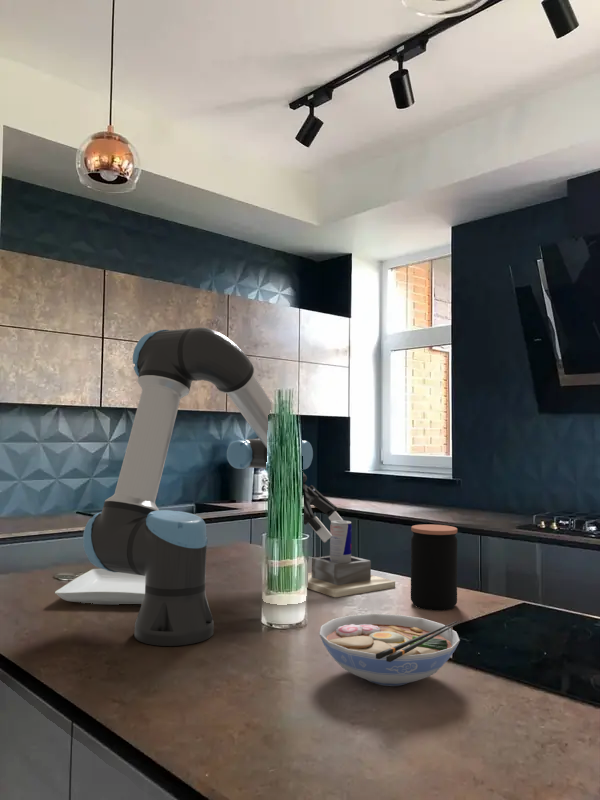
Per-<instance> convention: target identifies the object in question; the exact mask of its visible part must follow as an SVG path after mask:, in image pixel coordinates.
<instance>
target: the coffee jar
mask: <svg viewBox="0 0 600 800" xmlns="http://www.w3.org/2000/svg"><path fill="white" fill-rule="evenodd" d="M411 532H412V536H411V537H410V601H411V602H412V605H413V606H414V607H416V608H419V609H423V610H428V611H439V612H440V611H449V610H452V609H454V608H455V606H456V605H457V603H458V537H456V535H457V534H458V528H457V527H455V526H450V525H446V524H445V525H444V524H430V523H429V524H427V523H426V524H415V525H412V526H411Z"/></svg>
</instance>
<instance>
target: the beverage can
mask: <svg viewBox="0 0 600 800" xmlns="http://www.w3.org/2000/svg"><path fill="white" fill-rule="evenodd" d="M343 520H344V519H343ZM343 520H335V521H330V528H329V529H330V531H329V532H330V533H331V534H332V537H331V538H330V539H329V540H330V541H329V556H330V561H331V562H335V563H347V562H351V556H352V536H353V535H352V530H353V529H352V521H350V520H344V521H343Z"/></svg>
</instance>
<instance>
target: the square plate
mask: <svg viewBox="0 0 600 800" xmlns="http://www.w3.org/2000/svg"><path fill="white" fill-rule="evenodd" d="M54 594H55V595H57V596H58V597H59V598H61V599H62V600H64V601H67V602H74V603H80V602H81V603H80V604H85V603H91V604H90V605H119V604H142V602H143V599H144V596H145V576H142V575H135V574H129V573H122V572H111V571H107V570H105V569H101V568H92V569H89V571H87V572H85V573H83V574H81V575H79V576H77V577H76V578H74V579H72V580H70V581H69V582H67V583H66V584H65V585H63V586H62V587H60V588H58V589H57V590H55V592H54ZM92 603H93V604H92Z"/></svg>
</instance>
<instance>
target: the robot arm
mask: <svg viewBox="0 0 600 800" xmlns="http://www.w3.org/2000/svg"><path fill="white" fill-rule="evenodd" d="M132 364H133V365H134V366H133V371H134V373H135V375H136V376H137V383H138V385H139V386H140V387H141V394H140V396H139V401H138V405H137V409H136V411H135V415H134V418H133V419H134V420H133V423H132V425H131V426H132V427H131V430H130V435H129V439H128V442H127V446H126V449H125V454H124V457H123V461H122V464H121V469H120V471H119V475H118V479H117V484H116V487H115V491H114V494H113V495H111V496H110V497H108V498H107V499H105V500H104V503H103V507H102V511H100V512H98V513H96V514H95V513H94V515H93V516H92V517H91V518H89V519H88V520H87V522H86V525H85V527H84V530H83V534H82V536H83V537H82V545H83V549H84V553H85V555H86V556H87V559H88V561H89V562H90V563H91V564H92V565H93V566H94V567H96V568H97V569H105V570H107V571H111V572H122V573H129V574H135V575H142V576H145V596H144V599H143V602H142V605H140V609H139V611H138V615H137V617H136V620H135V623H134V638H135V640H137V641H138V642H141V643H143V644H146V645H153V646H159V647H161V646H162V647H175V646H176V647H177V646H187V645H192V644H193V645H194V644H196V643H201V642H204V641H206V640H209V639H210V638H211V637H212V636H214V625H215V624H214V622H215V621H214V618H213V615H212V612H211V608H210V606H209V602H208V597H207V595H206V580H207V579H206V578H207V577H206V575H207V547H208V546H207V544H208V537H207V525H206V522H205V520H204V519H203V518H202V517H201V516H199V515H197V514H193V513H191V512H185V511H181V510H180V511H179V510H177V511H176V510H170V509H165V510H164V509H162V510H161V509H159V508H158V506H157V504H156V499H157V497H158V492H159V488H160V483H161V480H162V475H163V473H164V467H165V462H166V459H167V456H168V452H169V446H170V442H171V439H172V435H173V431H174V426H175V422H176V418H177V415H178V409H179V406H180V402H181V400H182V399H183V398H184V397H186V396H188V395H190V394H189V393H190V390H191V386H192V382H195V381H196V382H197V381H205V382H208V383H211V384H213V385H214V386H215V388H216V389H217V390H218V391H219V392H221V393H223V394H227V396H228V398H229V399H230V400H231V402H232V403H233V404H234V405H235V407H236V408H237V409H238V411H239V413H240V414H241V415H242V416H243V418H244V419H245V421H246V422H247V423H248V425H249V426H250V428H251V429H252V430H253V432H252V433H250V435H248V437H247V438H246V439H237V440H234V441H232V442H231V443H229V445H228V447H227V450H226V460H227V462H228V463H229V465H230V466H231V467H233V468H234V469H238V470H240V469H241V470H242V469H243V470H245V469H249V468H251V469H253V468H254V469H264V470H265V471H266V462H267V430H268V415H269V413H270V410H271V403H273V402H272V401H271V399H270V397H269V396H268V394H267V393H266V391H265V389H264V388H263V386H262V385H261V383H260V382H259V381H258V379H257V378H256V376H255V374H254V373H255V366H254V365H253V362H251V359H250V358H249V357H248V356H247V354H246V353H245V352H244V351H243V350H242V349H241V348H240V347H239V346H238V345H237V344H236V343H235V342H234V341H232V340H231V339H230V338H229V337H227V336H226V335H224V334H222V333H221V332H219V331H217V330H215V329H212V328H209V327H194V328H193V327H192V328H182V329H180V328H179V329H159V330H156V331H150V332H148V333H146V334H144V335H143V336H141V338H140V339H139V340H138V341H137V343H136V344H135V347H134V349H133V353H132ZM301 440H302V439H301ZM302 456H303V469H302V470H306V469H309V467H310V466H311V464H312V461H313V457H314V451H313V447H312V444H311V443H310V442H309V441H308V440H302ZM307 480H308V477H307V475H306V474H305V473H304V472H303V492H304V524H303V525H305V526H306V525H309V526H310V527H311V528H312V530H313V532H315V534H316V535H317V536H318V537H319V538H320V540H321V541H322V542H323V543H324V544H325V543H327V542H328V541H329V540H330V538H331V537H332V534H331V533H330V531H329V530H328V528H327V527H326V526H325V525H324V523H323V522H322V521H321V520H320V518H318V516H315V515H314V513H313V509H312V506H314V507H315V508H317V509H318V510H319V511H320V512H321V513H324V514H325V515H326V516H328V517H327V518H328V519H329V521H330V522H331V521H335V520H343V521H345V520H344V518H342V517H341V516H340V514H339V513H338V512H337V511H338V509H339V508H338V507H337V506H336V505H335V504H334V503H332V502H331V501H330V500H329V499H328V498H327V497H325V496H324V495H323V494H322V493H321V492H319V490H317V488H316V487H315V486H314V485H312V484H311V485H310V486H308V485H307V484H306V482H307Z"/></svg>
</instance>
